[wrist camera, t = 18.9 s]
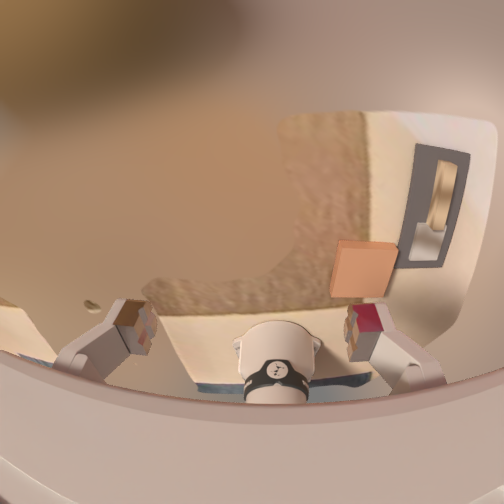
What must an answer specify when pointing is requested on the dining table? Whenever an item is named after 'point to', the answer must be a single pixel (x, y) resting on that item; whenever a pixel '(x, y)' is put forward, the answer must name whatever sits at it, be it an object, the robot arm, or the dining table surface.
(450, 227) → the mat
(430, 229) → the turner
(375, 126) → the dining table surface
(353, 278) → the tile
